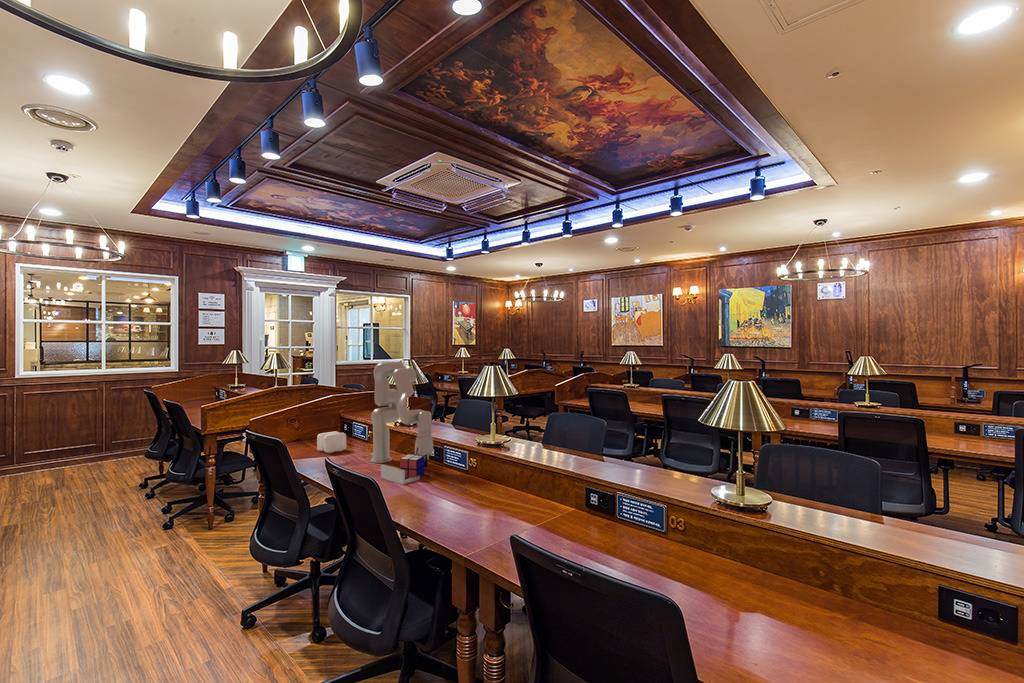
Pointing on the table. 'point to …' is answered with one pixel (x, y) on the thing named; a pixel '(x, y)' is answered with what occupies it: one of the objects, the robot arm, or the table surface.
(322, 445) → the cable organizer
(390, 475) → the aluminium dock
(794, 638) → the table surface
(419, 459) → the puzzle cube
